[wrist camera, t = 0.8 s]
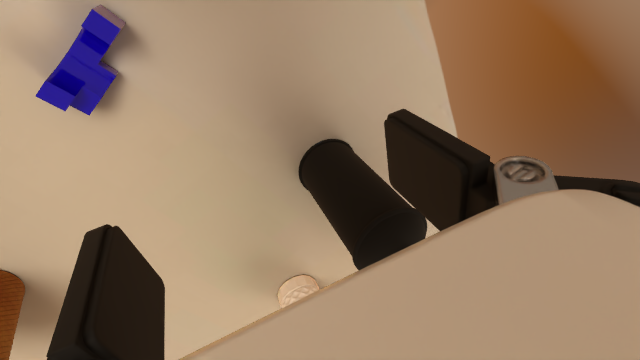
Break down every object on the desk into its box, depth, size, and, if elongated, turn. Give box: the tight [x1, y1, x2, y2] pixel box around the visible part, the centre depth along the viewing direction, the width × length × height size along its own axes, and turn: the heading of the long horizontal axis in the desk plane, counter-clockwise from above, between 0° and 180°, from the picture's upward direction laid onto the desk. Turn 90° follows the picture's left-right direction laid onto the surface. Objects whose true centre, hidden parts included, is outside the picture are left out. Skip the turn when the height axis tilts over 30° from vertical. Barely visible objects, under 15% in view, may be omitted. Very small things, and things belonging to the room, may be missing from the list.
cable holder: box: [36, 5, 126, 115], centre depth 26 cm, size 8×4×4 cm, turn 137°
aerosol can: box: [299, 139, 427, 270], centre depth 36 cm, size 8×8×20 cm
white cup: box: [277, 275, 320, 308], centre depth 50 cm, size 8×8×10 cm
